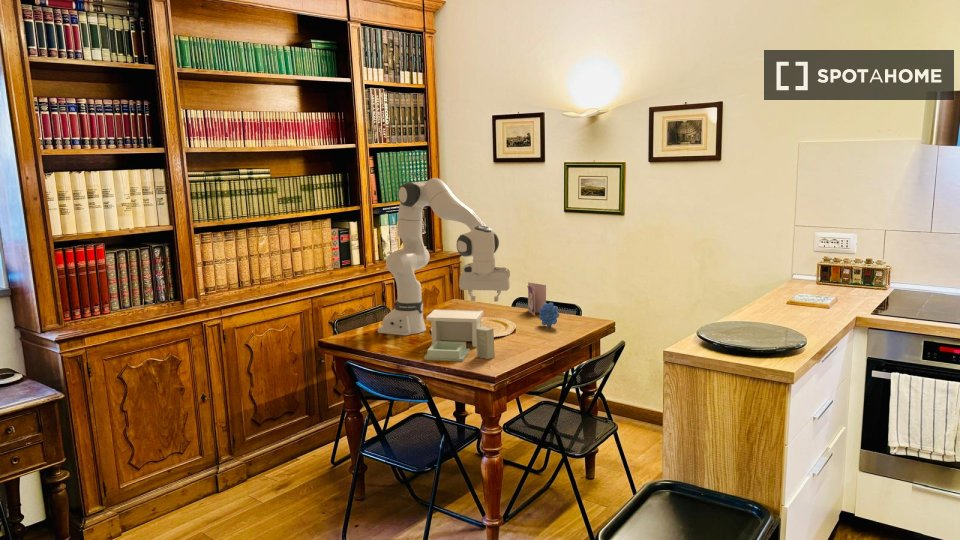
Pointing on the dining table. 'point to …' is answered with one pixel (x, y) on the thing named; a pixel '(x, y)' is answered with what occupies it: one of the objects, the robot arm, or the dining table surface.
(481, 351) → the skincare box
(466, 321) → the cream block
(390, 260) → the robot arm
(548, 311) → the grapes
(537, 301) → the greeting card
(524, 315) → the dining table surface
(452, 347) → the green drawer
